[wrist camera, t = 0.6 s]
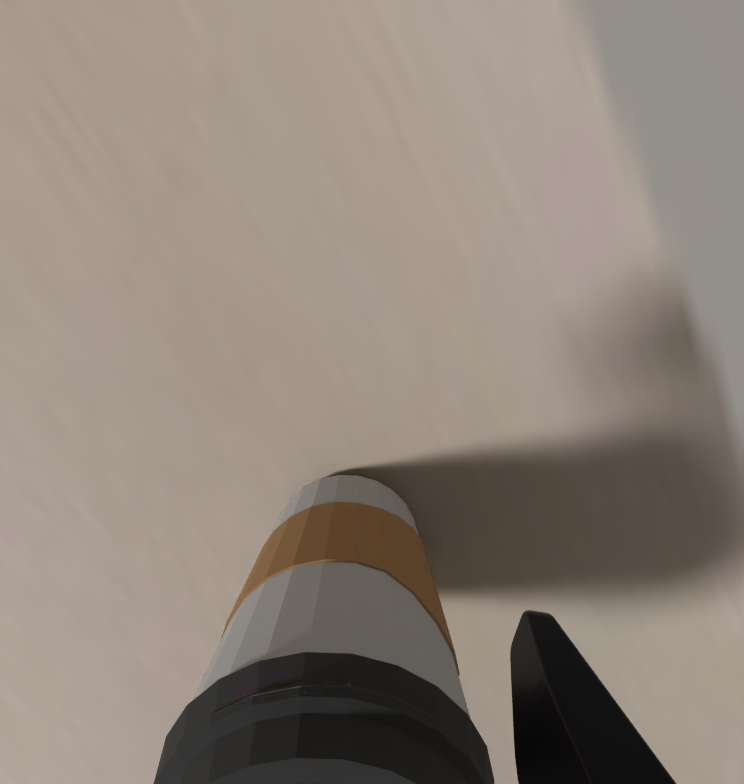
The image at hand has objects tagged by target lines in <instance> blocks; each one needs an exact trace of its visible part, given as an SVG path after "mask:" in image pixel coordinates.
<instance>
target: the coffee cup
mask: <svg viewBox="0 0 744 784" xmlns="http://www.w3.org/2000/svg"><path fill="white" fill-rule="evenodd" d="M154 784H494V777H493V773H492V768H491V763H490V759H489V754H488V750H487V746H486V744H485V743H484V741H483V739H482V738H481V736H480V734H479V733H478V731H477V729H476V728H475V726H474V724H473V722H472V721H471V719H470V715H469V712H468V708H467V705H466V701H465V698H464V694H463V691H462V687H461V683H460V680H459V669H458V665H457V660H456V655H455V651H454V647H453V644H452V641H451V637H450V634H449V630H448V627H447V623H446V620H445V617H444V613H443V610H442V606H441V603H440V599H439V596H438V592H437V589H436V586H435V582H434V579H433V575H432V572H431V568H430V565H429V562H428V558H427V555H426V551H425V548H424V545H423V543H422V541H421V540H420V538H419V535H418V531H417V528H416V524H415V520H414V518H413V516H412V514H411V512H410V510H409V508H408V507H407V505H406V503H405V502H404V501H403V500H402V499H401V498H400V497H399V496H398V495H397V494H396V493H395V492H394V491H393V490H392V489H390V488H388V487H387V486H385V485H383V484H381V483H380V482H378V481H376V480H372V479H369V478H365V477H362V476H357V475H336V476H331V477H327V478H322V479H319V480H317V481H315V482H313V483H311V484H309V485H307V486H305V487H303V488H302V489H301V490H300V491H299V492H298V493H296V494H295V495H294V496H293V497H292V498H291V499H290V500H289V502H288V503H287V505H286V506H285V508H284V510H283V511H282V513H281V514H280V517H279V519H278V521H277V523H276V525H275V527H274V529H273V531H272V533H271V536H270V537H269V539H268V540H267V542H266V543H265V545H264V546H263V548H262V550H261V552H260V554H259V556H258V558H257V560H256V563H255V565H254V567H253V569H252V571H251V573H250V575H249V577H248V579H247V581H246V583H245V585H244V587H243V589H242V591H241V594H240V596H239V598H238V600H237V602H236V604H235V606H234V608H233V610H232V612H231V614H230V616H229V618H228V620H227V623H226V626H225V629H224V632H223V635H222V638H221V641H220V643H219V645H218V648H217V650H216V652H215V654H214V656H213V658H212V660H211V662H210V665H209V667H208V669H207V671H206V673H205V675H204V677H203V679H202V681H201V684H200V686H199V688H198V690H197V692H196V694H195V696H194V698H193V700H192V702H190V703H189V704H188V705H187V706H186V708H185V709H184V711H183V712H182V714H181V715H180V717H179V718H178V720H177V721H176V723H175V724H174V726H173V727H172V729H171V730H170V732H169V733H168V735H167V736H166V740H165V743H164V747H163V751H162V755H161V758H160V762H159V766H158V770H157V774H156V777H155V781H154Z"/></svg>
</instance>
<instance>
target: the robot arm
mask: <svg viewBox="0 0 744 784" xmlns="http://www.w3.org/2000/svg"><path fill="white" fill-rule="evenodd" d="M510 660H511V682H512V704H513V726H514V745H515V759H516V767H517V775H518V782H519V784H676V783H675V781H674V780H673V779H672V777H671V776H670V775H669V773H668V772H667V771H666V769H665V768H664V766H663V765H662V764H661V762H660V761H659V760H658V758H657V757H656V756H655V754H654V753H653V752H652V750H651V749H650V747H649V746H648V745H647V743H646V742H645V741H644V739H643V738H642V737H641V735H640V734H639V733H638V731H637V730H636V728H635V727H634V726H633V724H632V723H631V722H630V720H629V719H628V718H627V716H626V715H625V713H624V712H623V711H622V709H621V708H620V707H619V705H618V704H617V703H616V701H615V700H614V699H613V697H612V696H611V694H610V693H609V692H608V690H607V689H606V688H605V686H604V685H603V684H602V682H601V681H600V680H599V678H598V677H597V675H596V674H595V673H594V671H593V670H592V669H591V667H590V666H589V665H588V663H587V662H586V661H585V659H584V658H583V656H582V655H581V654H580V652H579V651H578V650H577V648H576V647H575V646H574V644H573V643H572V641H571V640H570V639H569V637H568V636H567V635H566V633H565V632H564V631H563V629H562V628H561V627H560V625H559V624H558V622H557V621H556V620H555V618H554V617H553V616H552V615H550V614H549V613H544V612H537V611H530V610H528V611H525V612H524V613H523V615H522V617H521V619H520V622H519V625H518V628H517V630H516V633H515V636H514V639H513V642H512V645H511V655H510Z"/></svg>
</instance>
